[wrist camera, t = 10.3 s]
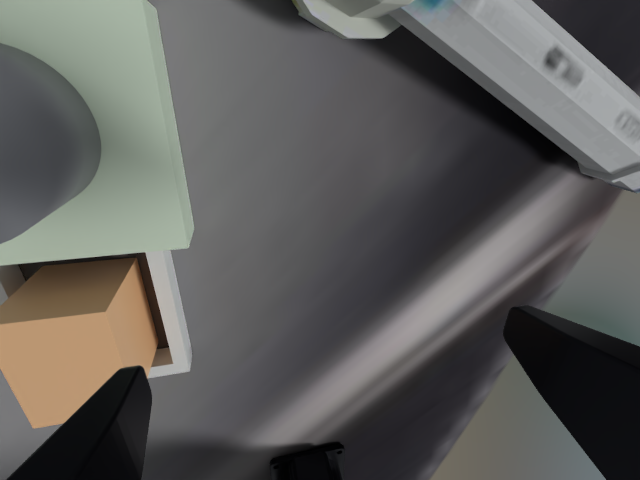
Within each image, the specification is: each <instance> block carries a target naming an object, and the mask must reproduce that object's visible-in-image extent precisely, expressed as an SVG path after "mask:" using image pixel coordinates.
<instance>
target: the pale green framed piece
mask: <svg viewBox="0 0 640 480" xmlns="http://www.w3.org/2000/svg"><path fill="white" fill-rule="evenodd" d="M193 231H194V223H193V217H192V211H191V206H190V200H189V194H188V188H187V183H186V177H185V171H184V165H183V160H182V154H181V148H180V142H179V137H178V131H177V125H176V119H175V114H174V108H173V102H172V96H171V91H170V85H169V79H168V73H167V68H166V62H165V56H164V50H163V45H162V39H161V33H160V27H159V21H158V16H157V10H156V8H155V7H154V6H152V5H151V4H150V3H149V2H148V1H147V0H0V306H1V305H2V304H3V303H4V302H5V301H6V300H7V299H8V298H9V297H10V296H11V295H12V294H13V293H14V292H16V291H17V290H18V289H19V288H20V287H21V286H22V285H23V284H24V283H25V282H26V281H25V279H24V277H23V274H22V272H21V270H20V268H19V265H18V264H25V263H36V262H46V261H57V260H68V259H79V258H90V257H101V256H111V255H122V254H131V253H142V252H145V253H146V257H147V261H148V265H149V269H150V273H151V277H152V281H153V285H154V289H155V293H156V297H157V301H158V305H159V309H160V313H161V316H162V320H163V324H164V328H165V332H166V336H167V340H168V344H169V348H163V349H156V352H155V355H154V359H153V362H152V365H151V369H150V372H149V375H148V378H152V377H158V376H164V375H170V374H177V373H183V372H189V371H190V367H191V360H192V354H193V353H192V349H191V344H190V339H189V335H188V330H187V325H186V321H185V316H184V311H183V307H182V302H181V297H180V293H179V288H178V283H177V279H176V274H175V269H174V265H173V260H172V255H171V251H170V250H174V249H185V248H189V245H190V242H191V238H192V235H193Z"/></svg>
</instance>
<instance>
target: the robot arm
mask: <svg viewBox="0 0 640 480" xmlns="http://www.w3.org/2000/svg"><path fill="white" fill-rule="evenodd" d="M503 337H504V339H505V341H506V343H507V344H508V346H509V348H510V349H511V351H512V352H513V354H514V355H515V357H516V358H517V360H518V361H519V363H520V364H521V366H522V367H523V369H524V371H525V372H526V374H527V375H528V376H529V378H530V380H531V381H532V383H533V384H534V386H535V387H536V389H537V390H538V392H539V393H540V394H541V396H542V397H543V399H544V400H545V401H546V403H547V404H548V405H549V406H550V407H551V409H552V410H553V412H554V413H555V414H556V415H557V417H558V418H559V419H560V421H561V422H562V423H563V424H564V426H565V427H566V428H567V430H568V431H569V432H570V433H571V435H572V436H573V437H574V438H575V440H576V441H577V442H578V444H579V445H580V446H581V448H582V449H583V450H584V451H585V453H586V454H587V455H588V456H589V458H590V459H591V461H592V462H593V463H594V464H595V466H596V467H597V468H598V469H599V471H600V472H601V473H602V475H603V476H604V477H605V478H606V480H640V347H639V346H637V345H634V344H631V343H629V342H626V341H623V340H620V339H618V338H615V337H612V336H610V335H607V334H604V333H602V332H599V331H596V330H593V329H591V328H588V327H585V326H583V325H580V324H577V323H574V322H572V321H569V320H567V319H564V318H561V317H558V316H556V315H553V314H550V313H547V312H545V311H542V310H540V309H537V308H534V307H531V306H528V305H522V306H516V307H512V308H511V309H510V310H509V313H508V316H507V319H506V323H505V326H504V329H503ZM151 406H152V393H151V389H150V386H149V383H148V380H147V376H146V373H145V370H144V368H143V367H142V366H140V365H136V366H130V367H124V368H121V369H119V370H118V371H116V372H115V373H114V374H113V375H112V376H111V377H110V378H109V379H108V380H107V381H106V382H105V383H104V384H103V385H102V386H101V387H100V388H99V389H98V390H97V391H96V392H95V393H94V394H93V395H92V396H91V397H90V398H89V399H88V400H87V401H86V402H85V403H84V404H83V405H82V406H81V407H80V408H79V409H78V410H77V411H76V412H75V413H74V414H73V415H72V416H71V417H70V418H69V419H68V420H67V421H66V422H65V423H64V424H63V425H62V426H60V427H59V428H58V429H57V430H56V431H55V432H54V433H53V434H52V435H51V436H50V437H49V438H48V439H47V440H46V441H45V442H44V443H43V444H42V445H41V446H40V447H39V448H38V449H37V450H36V451H35V452H34V453H33V454H32V455H31V456H30V457H29V458H28V459H27V460H26V461H25V462H24V463H23V464H22V465H21V466H20V467H19V468H18V469H17V470H16V471H15V472H14V473H13V474H12V475H11V476H10V477H9V478H8V479H7V480H141V477H142V471H143V464H144V457H145V449H146V442H147V435H148V427H149V420H150V413H151ZM344 461H345V449H344V446H343V445H342V444H337V445H333V446H328V447H324V448H320V449H315V450H311V451H306V452H302V453H298V454H293V455H289V456H284V457H280V458H276V459H273V460H271V461H270V472H271V480H343V478H344Z"/></svg>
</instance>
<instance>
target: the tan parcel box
mask: <svg viewBox="0 0 640 480" xmlns="http://www.w3.org/2000/svg"><path fill="white" fill-rule="evenodd" d="M157 345H158V338H157V334H156V330H155V326H154V322H153V318H152V314H151V311H150V307H149V303H148V299H147V295H146V291H145V287H144V284H143V280H142V276H141V272H140V268H139V264H138V260H137V257H136V258H124V259H113V260H102V261H91V262H80V263H69V264H58V265H46V266H42V267H41V268H40V269H39V270H38V271H37V272H36V273H35V274H34V275H33V276H31V277H30V278H29V279H28V280H27V281H26V282H25V283H24V284H23V285H22V286H21V287H20V288H19V289H18V290H17V291H16V292H14V293H13V294H12V295H11V296H10V297H9V298H8V299H7V300H6V301H5V302H4V303H3V304H2V305H1V306H0V369H1V371H2V372H3V374H4V376H5V378H6V380H7V382H8V383H9V385H10V387H11V389H12V391H13V392H14V394H15V396H16V398H17V400H18V402H19V403H20V405H21V407H22V409H23V411H24V412H25V414H26V416H27V418H28V420H29V422H30V423H31V425H32V427H33V429H34V428H40V427H45V426H51V425H57V424H62V423H65V422H66V421H67V420H68V419H69V418H70V417H71V416H72V415H73V414H74V413H75V412H76V411H77V410H78V409H79V408H80V407H81V406H82V405H83V404H84V403H85V402H86V401H87V400H88V399H89V398H90V397H91V396H92V395H93V394H94V393H95V392H96V391H97V390H98V389H99V388H100V387H101V386H102V385H103V384H104V383H105V382H106V381H107V380H108V379H109V378H110V377H111V376H112V375H113V374H114V373H115V372H116V371H118V370H119V369H121V368H124V367H130V366H136V365H140V366H142V367H143V368H144V370H145V373H146V376H147V379H148V375H149V372H150V369H151V365H152V362H153V359H154V355H155V352H156V349H157Z"/></svg>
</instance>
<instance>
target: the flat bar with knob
mask: <svg viewBox="0 0 640 480" xmlns="http://www.w3.org/2000/svg"><path fill="white" fill-rule="evenodd" d="M292 2H293V3H294V5H295V6H296V8H297V9H298V11H299V13H298V15H300V16H301V17H303V18H304V19H306V20H308V21H309V22H311V23H312V24H314V25H316V26H317V27H319V28H320V29H322V30H324V31H325V32H327V31H330V32H332V33H333V34H335V35H336V36H338V37H339V38H341V39H380V38H384V37H386V36H387V35H388V34H390V33H391V32H393V31H394V30H395V29H397V28H398V27H400V26H401V25H403V26H404V27H406V28H407V29H408V30H409V31H411V32H412V33H413V34H415V35H416V36H417V37H418V38H420V39H421V40H422V41H424V42H425V43H426V44H427V45H429V46H430V47H431V48H433V49H434V50H435V51H436V52H438V53H439V54H440V55H442V56H443V57H444V58H445V59H447V60H448V61H449V62H451V63H452V64H453V65H454V66H456V67H457V68H458V69H460V70H461V71H462V72H463V73H465V74H466V75H467V76H469V77H470V78H471V79H472V80H474V81H475V82H476V83H478V84H479V85H480V86H481V87H483V88H484V89H485V90H487V91H488V92H489V93H490V94H492V95H493V96H494V97H496V98H497V99H498V100H499V101H501V102H502V103H503V104H505V105H506V106H507V107H508V108H510V109H511V110H512V111H514V112H515V113H516V114H517V115H519V116H520V117H521V118H523V119H524V120H525V121H526V122H528V123H529V124H530V125H532V126H533V127H534V128H535V129H537V130H538V131H539V132H541V133H542V134H543V135H544V136H546V137H547V138H548V139H550V140H551V141H552V142H553V143H555V144H556V145H557V146H559V147H560V148H561V149H562V150H564V151H565V152H566V153H568V154H569V155H570V156H571V157H573V158H574V159H575V160H577V162H578V165H579V169H580V172H581V173H582V174H585V175H588V176H592V177H595V178H599V179H602V180H604V181H605V182H607V183H608V184H610V185H611V186H614V187H617V188H621V189H624V190H627V191H631V192H634V193H639V192H640V97H639V96H638V95H637V94H636V93H635V92H633V91H632V90H631V89H630V88H629V87H628V86H627V85H626V84H624V83H623V82H622V81H621V80H620V79H619V78H618V77H617V76H616V75H614V74H613V73H612V72H611V71H610V70H609V69H608V68H607V67H605V66H604V65H603V64H602V63H601V62H600V61H599V60H598V59H597V58H595V57H594V56H593V55H592V54H591V53H590V52H589V51H588V50H586V49H585V48H584V47H583V46H582V45H581V44H580V43H579V42H578V41H576V40H575V39H574V38H573V37H572V36H571V35H570V34H569V33H567V32H566V31H565V30H564V29H563V28H562V27H561V26H560V25H559V24H557V23H556V22H555V21H554V20H553V19H552V18H551V17H550V16H548V15H547V14H546V13H545V12H544V11H543V10H542V9H541V8H539V7H538V6H537V5H536V4H535V3H534V2H533V1H532V0H292Z"/></svg>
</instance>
